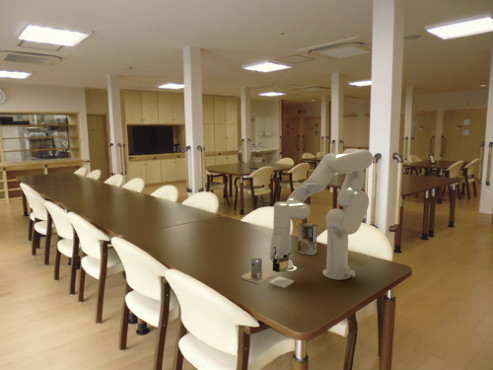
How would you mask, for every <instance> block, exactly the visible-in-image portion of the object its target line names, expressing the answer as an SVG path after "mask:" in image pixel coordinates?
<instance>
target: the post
mask: <svg viewBox="0 0 493 370" xmlns="http://www.w3.org/2000/svg"><path fill="white" fill-rule="evenodd" d="M240 278H241V279H243V280H245V281H248V282H251V283H254V284H256V285H259V284H261V283H264V282H265V281H267V280H269V279H271V278H272V274H270V273H267V272H263V260H262V258H256V257H255V258H251V260H250V271H249V272H246V273H245V274H242V275H241V277H240Z"/></svg>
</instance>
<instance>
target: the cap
mask: <svg viewBox="0 0 493 370" xmlns="http://www.w3.org/2000/svg"><path fill="white" fill-rule="evenodd" d="M287 259H288V258H287V257H284V258H283V257H280V259H279V272H278V273H280V272H281V273H283V272H284V273H285V272H288V271H287V270H289V269H288V260H287ZM276 260H277V257H276Z"/></svg>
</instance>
